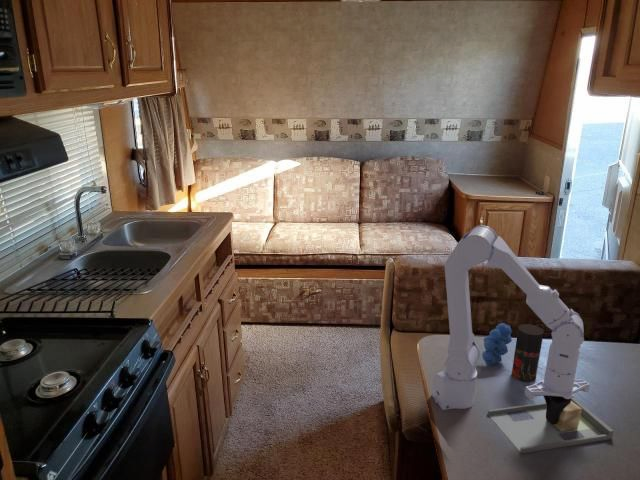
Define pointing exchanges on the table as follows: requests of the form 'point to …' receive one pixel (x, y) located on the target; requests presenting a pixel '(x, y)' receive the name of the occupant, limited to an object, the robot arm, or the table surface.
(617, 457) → the table surface
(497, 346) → the grapes
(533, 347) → the deodorant
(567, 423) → the block
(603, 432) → the board
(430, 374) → the table surface
